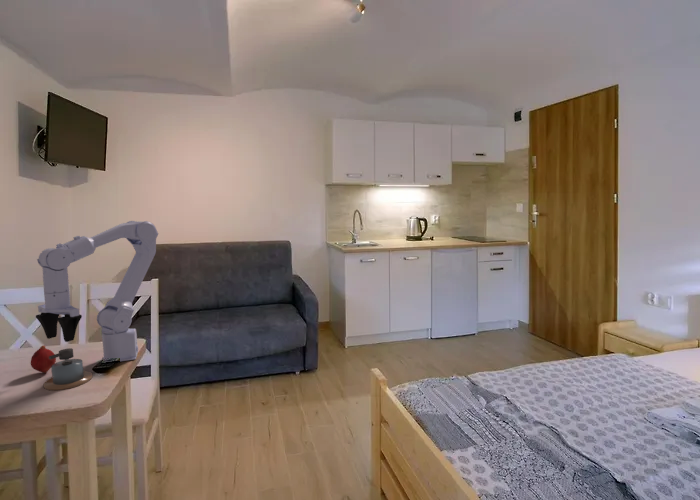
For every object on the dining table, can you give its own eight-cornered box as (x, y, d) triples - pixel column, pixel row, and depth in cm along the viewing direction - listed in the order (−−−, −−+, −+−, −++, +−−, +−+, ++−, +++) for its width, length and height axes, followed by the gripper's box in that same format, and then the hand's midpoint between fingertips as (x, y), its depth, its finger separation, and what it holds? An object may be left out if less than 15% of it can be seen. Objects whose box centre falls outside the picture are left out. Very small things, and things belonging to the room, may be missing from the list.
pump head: (75, 358, 115) (74, 347, 115) (70, 364, 111) (69, 353, 111) (54, 360, 114) (53, 350, 113) (49, 367, 109) (48, 356, 109)
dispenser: (95, 370, 121) (94, 352, 120) (88, 385, 111) (86, 365, 110) (50, 377, 117) (48, 358, 116) (38, 393, 107) (36, 372, 106)
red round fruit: (37, 378, 116) (34, 350, 115) (28, 374, 119) (25, 347, 118) (60, 371, 121) (58, 344, 120) (51, 367, 124) (48, 341, 123)
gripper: (24, 292, 115) (28, 340, 116) (58, 296, 109) (62, 346, 111) (51, 287, 121) (55, 333, 123) (85, 291, 116) (88, 339, 117)
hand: (60, 339), depth 117 cm, fingers open, 7 cm apart
